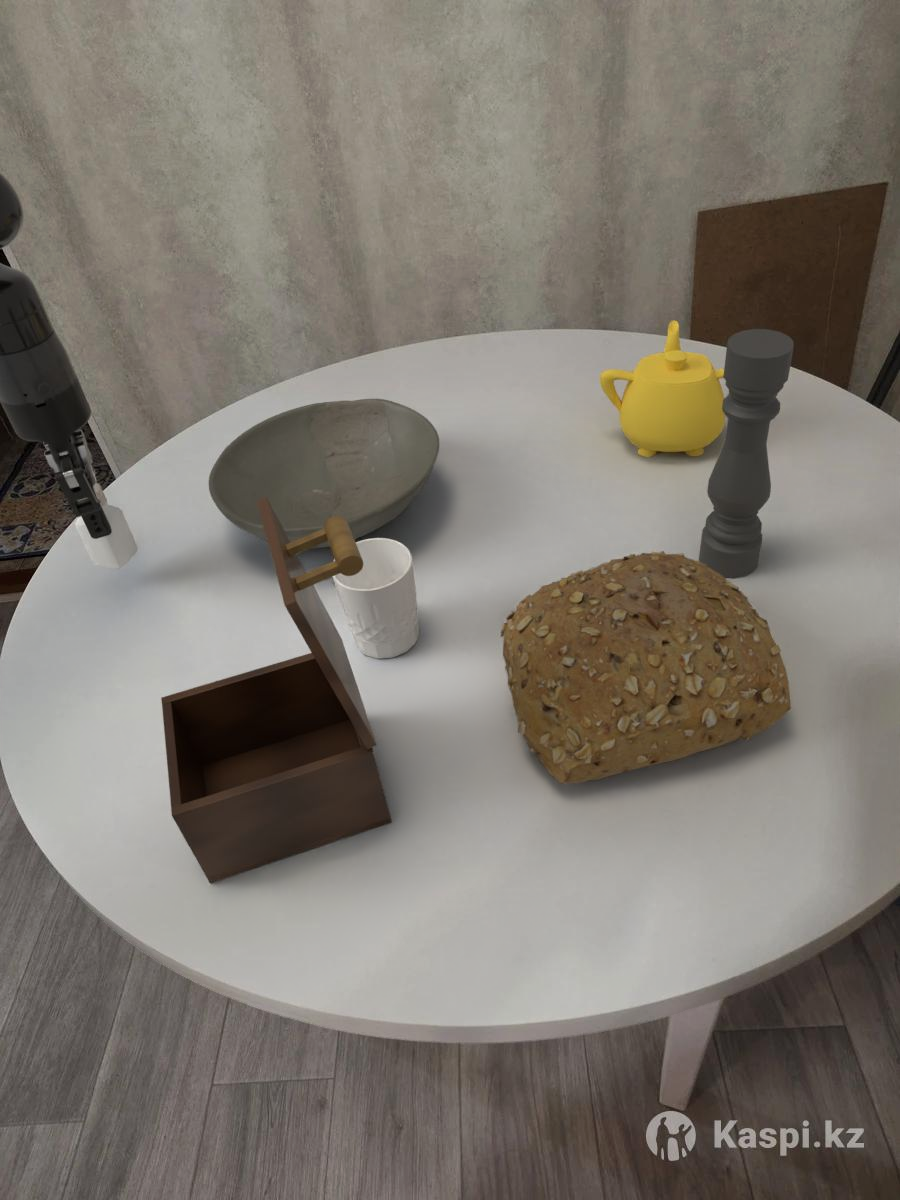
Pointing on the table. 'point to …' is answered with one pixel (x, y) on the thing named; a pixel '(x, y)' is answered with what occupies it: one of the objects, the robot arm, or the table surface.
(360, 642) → the white cup
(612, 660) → the bread
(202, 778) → the compartment
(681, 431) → the teapot
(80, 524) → the pepper shaker
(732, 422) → the candle holder
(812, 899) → the table surface
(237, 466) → the bowl
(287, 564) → the lid
